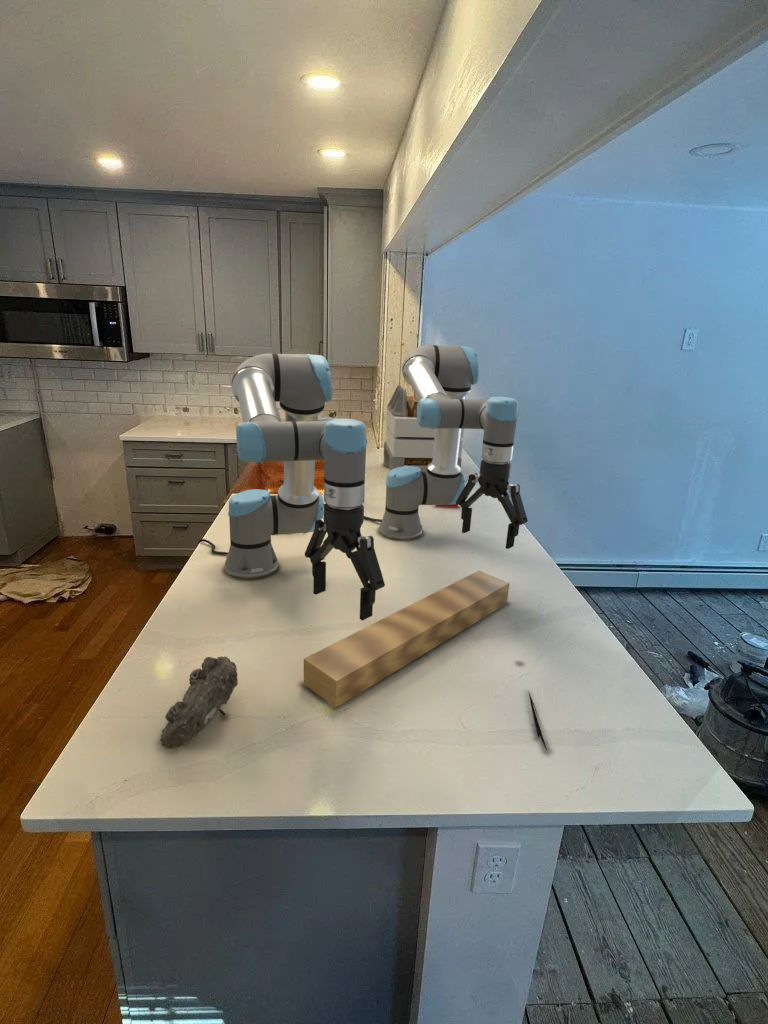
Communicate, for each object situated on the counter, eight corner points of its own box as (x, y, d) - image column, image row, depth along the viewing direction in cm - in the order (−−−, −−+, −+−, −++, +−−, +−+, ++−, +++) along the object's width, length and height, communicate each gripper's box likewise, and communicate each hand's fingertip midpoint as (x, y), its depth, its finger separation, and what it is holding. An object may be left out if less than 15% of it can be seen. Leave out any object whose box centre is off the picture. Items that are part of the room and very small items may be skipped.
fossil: (187, 658, 118) (238, 626, 113) (219, 688, 121) (270, 658, 116) (136, 742, 99) (195, 708, 94) (175, 775, 101) (234, 744, 96)
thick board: (476, 590, 162) (478, 570, 160) (507, 603, 156) (509, 582, 153) (303, 684, 119) (303, 658, 117) (336, 707, 112) (336, 681, 110)
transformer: (382, 463, 289) (386, 382, 275) (445, 464, 293) (451, 384, 279) (390, 482, 257) (394, 392, 243) (460, 483, 261) (468, 394, 247)
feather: (520, 667, 129) (525, 661, 129) (546, 754, 103) (553, 747, 102) (514, 663, 129) (519, 657, 129) (538, 750, 103) (545, 742, 102)
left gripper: (286, 491, 111) (287, 588, 118) (378, 527, 95) (373, 636, 102) (315, 484, 116) (315, 577, 123) (407, 517, 100) (401, 621, 107)
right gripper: (447, 452, 146) (440, 529, 154) (533, 474, 131) (521, 558, 138) (464, 448, 152) (457, 522, 159) (549, 469, 136) (536, 550, 143)
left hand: (341, 604), depth 113 cm, fingers open, 13 cm apart
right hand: (487, 539), depth 148 cm, fingers open, 13 cm apart
